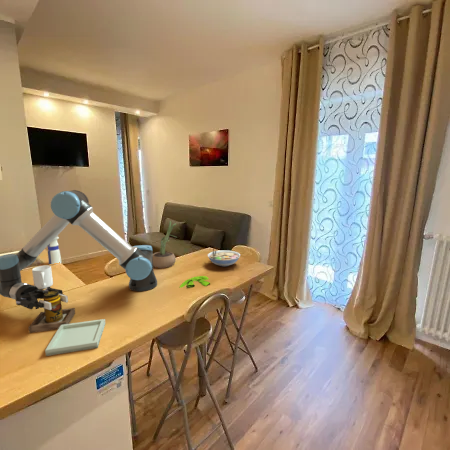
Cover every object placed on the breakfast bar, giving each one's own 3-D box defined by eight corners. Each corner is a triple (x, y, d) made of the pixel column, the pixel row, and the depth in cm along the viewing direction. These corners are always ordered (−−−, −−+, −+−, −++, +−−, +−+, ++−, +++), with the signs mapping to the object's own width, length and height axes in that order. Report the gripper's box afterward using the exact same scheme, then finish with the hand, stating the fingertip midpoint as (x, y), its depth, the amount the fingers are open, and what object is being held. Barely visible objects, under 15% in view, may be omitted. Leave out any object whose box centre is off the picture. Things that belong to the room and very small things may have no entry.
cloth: (208, 275, 161) (208, 272, 160) (218, 290, 140) (218, 285, 140) (175, 279, 155) (175, 276, 154) (181, 295, 134) (181, 290, 134)
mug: (34, 293, 135) (31, 273, 133) (34, 285, 145) (32, 267, 143) (53, 289, 140) (51, 270, 138) (52, 282, 150) (50, 264, 148)
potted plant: (160, 271, 167) (158, 225, 162) (146, 265, 179) (143, 222, 174) (187, 262, 184) (186, 221, 178) (172, 257, 196) (171, 218, 190)
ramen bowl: (241, 271, 167) (241, 259, 165) (206, 271, 167) (205, 259, 166) (239, 259, 191) (239, 248, 190) (208, 259, 192) (208, 248, 190)
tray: (105, 323, 106) (104, 318, 106) (97, 347, 91) (97, 342, 91) (61, 329, 102) (61, 324, 102) (46, 356, 87) (45, 350, 87)
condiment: (60, 323, 104) (56, 295, 102) (36, 326, 103) (32, 297, 100) (67, 314, 111) (63, 288, 109) (45, 316, 110) (41, 290, 107)
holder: (75, 313, 115) (74, 307, 115) (66, 327, 104) (66, 322, 103) (41, 317, 112) (40, 311, 111) (29, 333, 100) (28, 327, 100)
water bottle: (44, 264, 181) (40, 229, 176) (56, 260, 189) (52, 227, 184) (52, 265, 178) (48, 230, 173) (64, 262, 185) (60, 228, 181)
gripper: (48, 292, 122) (81, 301, 113) (0, 310, 105) (34, 323, 96) (46, 277, 121) (79, 285, 112) (-3, 293, 104) (32, 304, 95)
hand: (58, 302), depth 104 cm, fingers closed on condiment, 6 cm apart
